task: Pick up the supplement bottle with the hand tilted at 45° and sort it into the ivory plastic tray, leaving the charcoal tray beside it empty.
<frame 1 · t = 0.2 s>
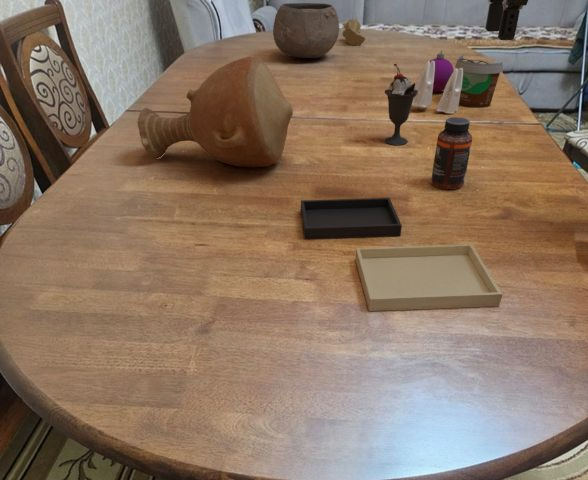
hand: (498, 35, 83), 25 cm above the table, tool pointing down, fingers open, 8 cm apart
charcoal tray: (348, 223, 89), on the table
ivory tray: (422, 281, 75), on the table
clay pot: (306, 58, 178), on the table
food container: (466, 105, 138), on the table
jug: (222, 161, 111), on the table
cat figurine: (352, 43, 195), on the table
sundae: (395, 142, 118), on the table
shaker set: (432, 112, 134), on the table
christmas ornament: (435, 92, 147), on the table
supplement bottle: (446, 185, 100), on the table
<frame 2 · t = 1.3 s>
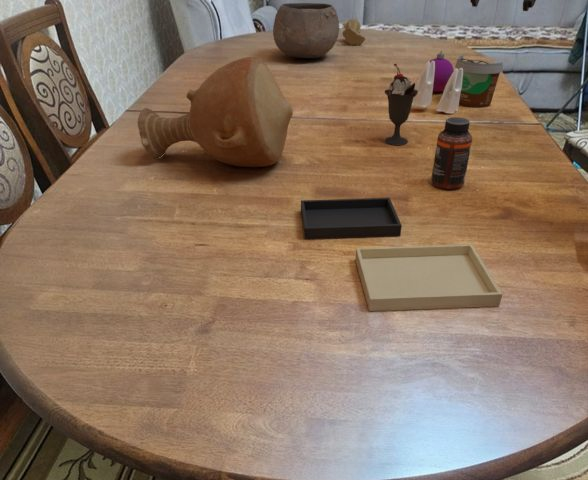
hand: (499, 5, 91), 27 cm above the table, tool tilted 45°, fingers open, 8 cm apart
nothing on the table moved.
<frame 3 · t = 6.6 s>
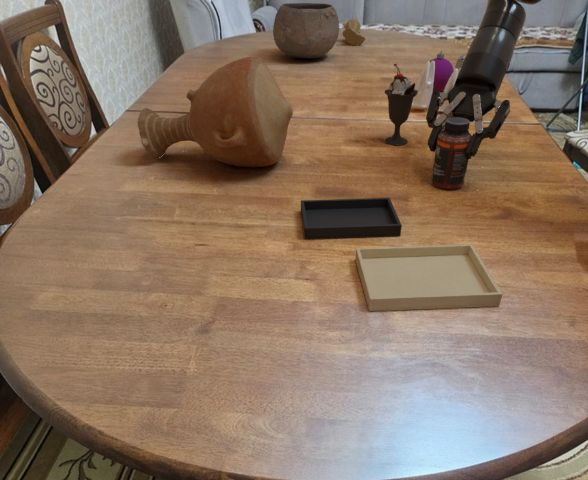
hand: (449, 152, 95), 6 cm above the table, tool tilted 45°, fingers closed on supplement bottle, 6 cm apart
supplement bottle: (446, 185, 100), on the table, touching gripper
everything else where it was.
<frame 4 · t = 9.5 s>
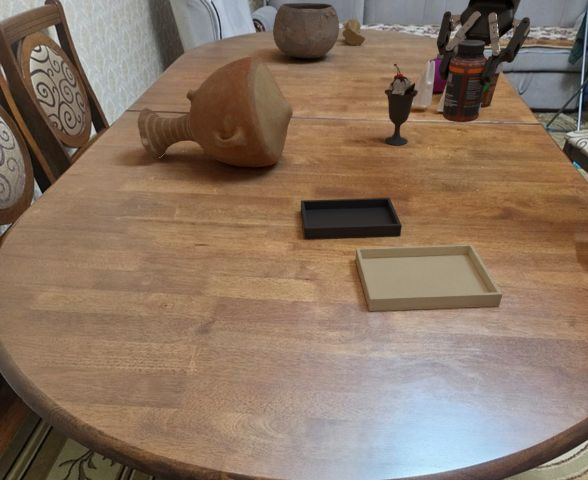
hand: (462, 79, 87), 18 cm above the table, tool tilted 45°, fingers closed on supplement bottle, 6 cm apart
supplement bottle: (459, 119, 92), point 12 cm above the table, touching gripper
everything else where it was.
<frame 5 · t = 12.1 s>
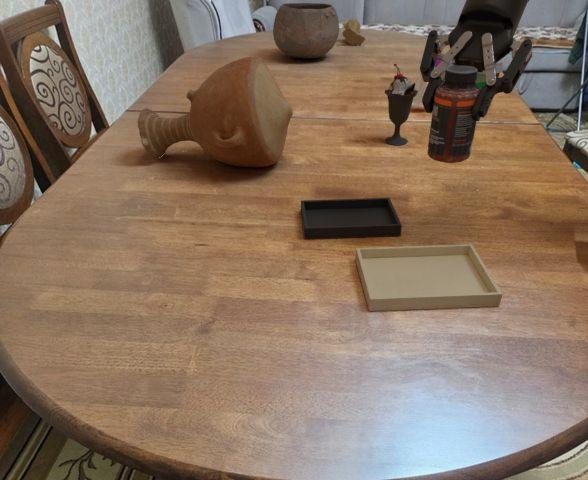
hand: (450, 113, 72), 19 cm above the table, tool tilted 45°, fingers closed on supplement bottle, 6 cm apart
supplement bottle: (447, 158, 77), point 12 cm above the table, touching gripper
everything else where it was.
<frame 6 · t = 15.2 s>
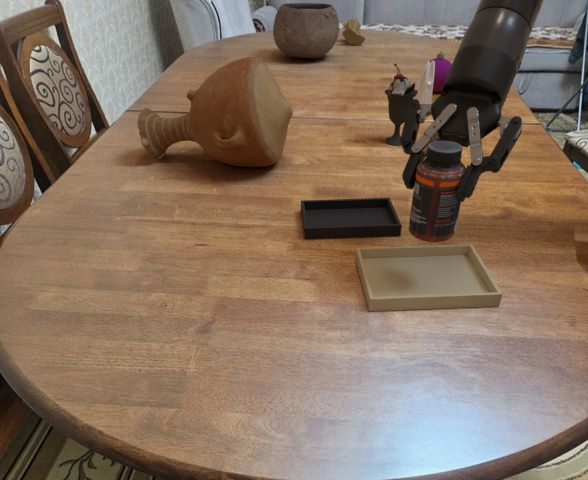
hand: (433, 192, 66), 14 cm above the table, tool tilted 45°, fingers closed on supplement bottle, 6 cm apart
supplement bottle: (430, 234, 71), point 7 cm above the table, touching gripper
everything else where it was.
when the fingers open (7 cm above the table, at t = 17.6 s): supplement bottle stays where it is, resting on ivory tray.
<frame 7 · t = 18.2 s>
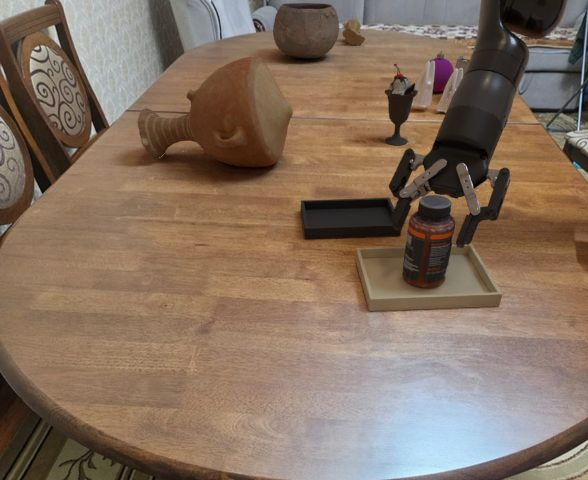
hand: (427, 237, 70), 7 cm above the table, tool tilted 45°, fingers open, 8 cm apart
supplement bottle: (422, 279, 75), resting on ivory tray
everything else where it was.
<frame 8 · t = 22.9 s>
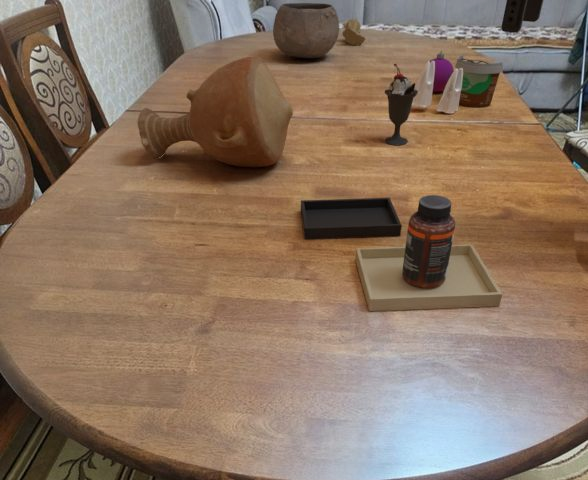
hand: (520, 26, 69), 28 cm above the table, tool pointing down, fingers open, 8 cm apart
nothing on the table moved.
at the end: supplement bottle inside the target area in the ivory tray (0.1 cm from its centre), point 0.2 cm above the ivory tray's base; supplement bottle tilted 0°; supplement bottle touching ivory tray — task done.
